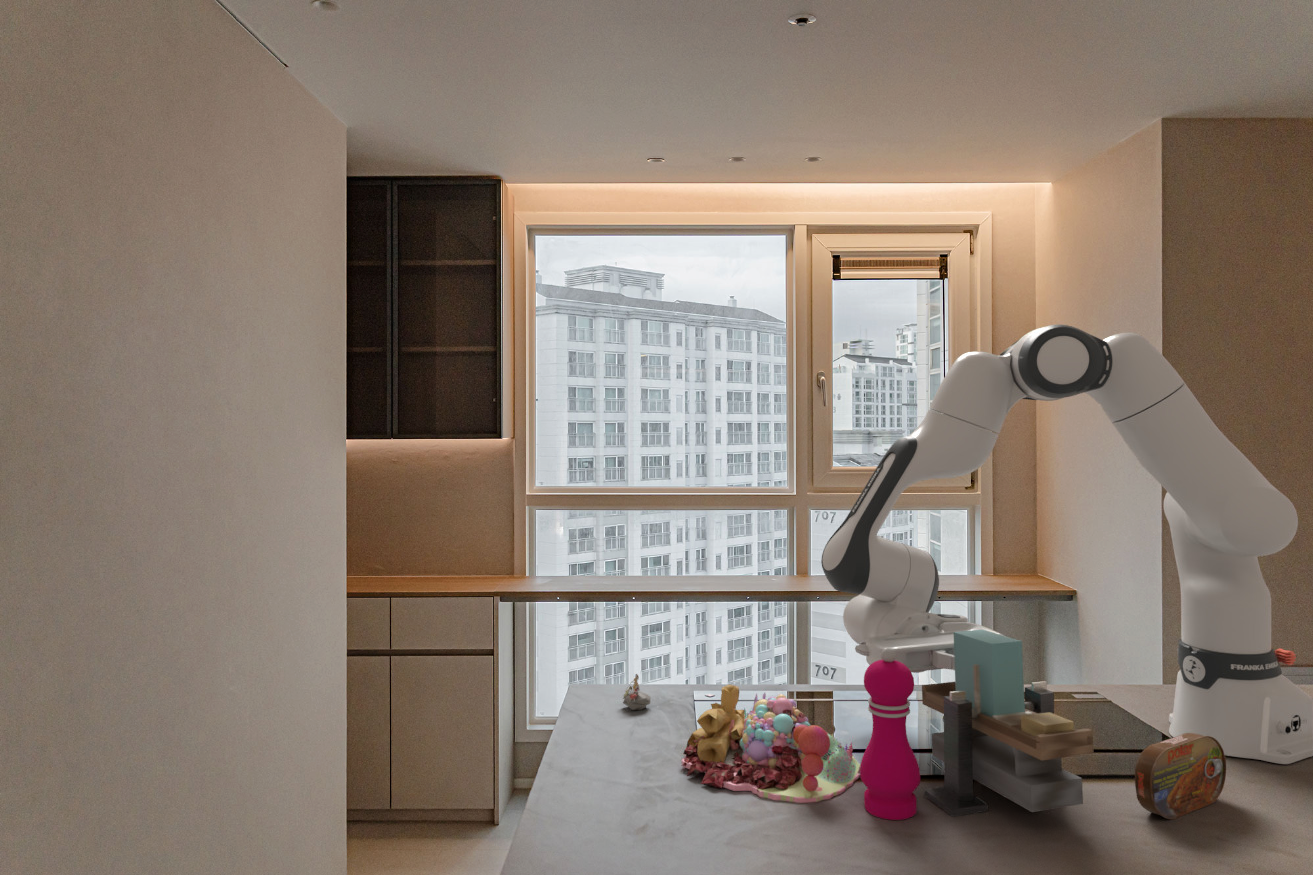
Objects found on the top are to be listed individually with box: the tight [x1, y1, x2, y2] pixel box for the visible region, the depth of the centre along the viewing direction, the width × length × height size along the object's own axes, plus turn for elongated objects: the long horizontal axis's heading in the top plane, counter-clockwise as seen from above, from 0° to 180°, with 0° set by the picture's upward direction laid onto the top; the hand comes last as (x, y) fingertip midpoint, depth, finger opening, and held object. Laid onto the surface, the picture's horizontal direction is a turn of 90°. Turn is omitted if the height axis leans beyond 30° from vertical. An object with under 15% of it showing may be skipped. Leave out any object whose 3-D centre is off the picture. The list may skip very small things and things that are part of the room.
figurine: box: [622, 673, 652, 711], centre depth 146 cm, size 5×4×6 cm
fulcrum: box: [923, 680, 1055, 817], centre depth 110 cm, size 18×6×14 cm, turn 105°
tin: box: [1134, 733, 1227, 820], centre depth 106 cm, size 15×3×8 cm, turn 117°
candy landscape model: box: [681, 684, 861, 804], centre depth 122 cm, size 25×24×9 cm
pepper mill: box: [859, 648, 921, 821], centre depth 107 cm, size 7×7×20 cm
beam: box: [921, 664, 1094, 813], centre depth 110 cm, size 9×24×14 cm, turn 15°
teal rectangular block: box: [953, 629, 1025, 717], centre depth 112 cm, size 4×8×10 cm, turn 15°
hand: (969, 665), depth 116 cm, fingers closed, pressing on teal rectangular block
